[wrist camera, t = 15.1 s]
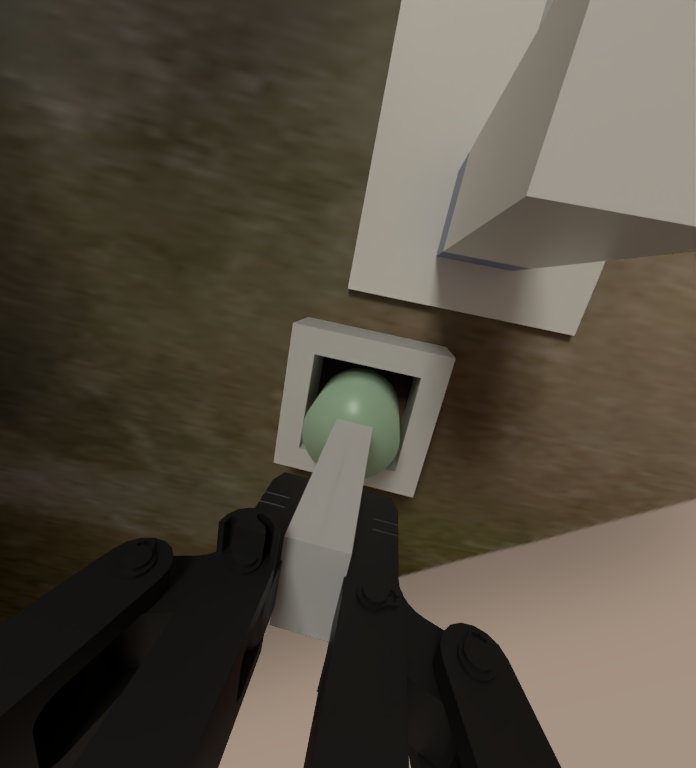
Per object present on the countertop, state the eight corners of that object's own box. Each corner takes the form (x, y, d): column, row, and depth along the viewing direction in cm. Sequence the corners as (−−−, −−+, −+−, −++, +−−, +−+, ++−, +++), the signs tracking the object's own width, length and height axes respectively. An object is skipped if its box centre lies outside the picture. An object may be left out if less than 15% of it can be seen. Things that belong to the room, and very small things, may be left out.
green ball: (327, 360, 18) (310, 379, 14) (407, 378, 17) (410, 403, 14) (314, 431, 19) (295, 466, 15) (388, 449, 19) (387, 489, 15)
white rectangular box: (458, 171, 15) (639, -150, 4) (540, 185, 15) (983, -114, 4) (436, 256, 17) (526, 196, 5) (511, 271, 16) (780, 242, 5)
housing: (308, 316, 19) (293, 322, 16) (446, 346, 18) (455, 358, 15) (289, 438, 21) (273, 462, 18) (410, 468, 21) (412, 497, 18)
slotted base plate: (425, -122, 13) (426, -135, 13) (744, -86, 12) (756, -99, 12) (348, 288, 18) (347, 288, 18) (570, 334, 17) (574, 335, 17)
